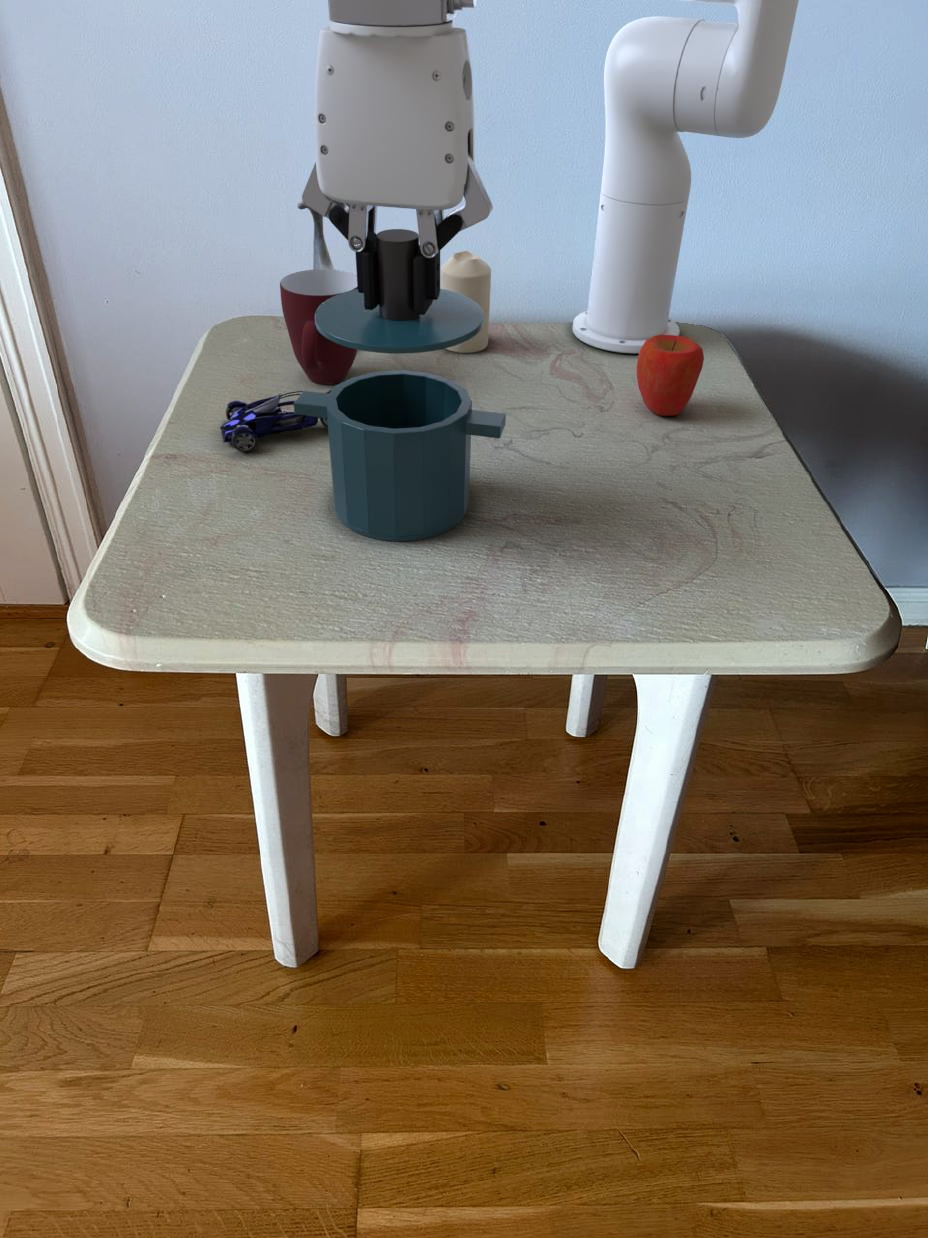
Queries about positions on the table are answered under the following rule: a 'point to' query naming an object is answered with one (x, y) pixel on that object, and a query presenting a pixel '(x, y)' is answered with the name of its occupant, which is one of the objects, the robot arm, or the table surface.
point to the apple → (668, 372)
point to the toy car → (262, 421)
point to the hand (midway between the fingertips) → (399, 303)
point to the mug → (299, 308)
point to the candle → (469, 292)
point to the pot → (400, 451)
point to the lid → (398, 308)
